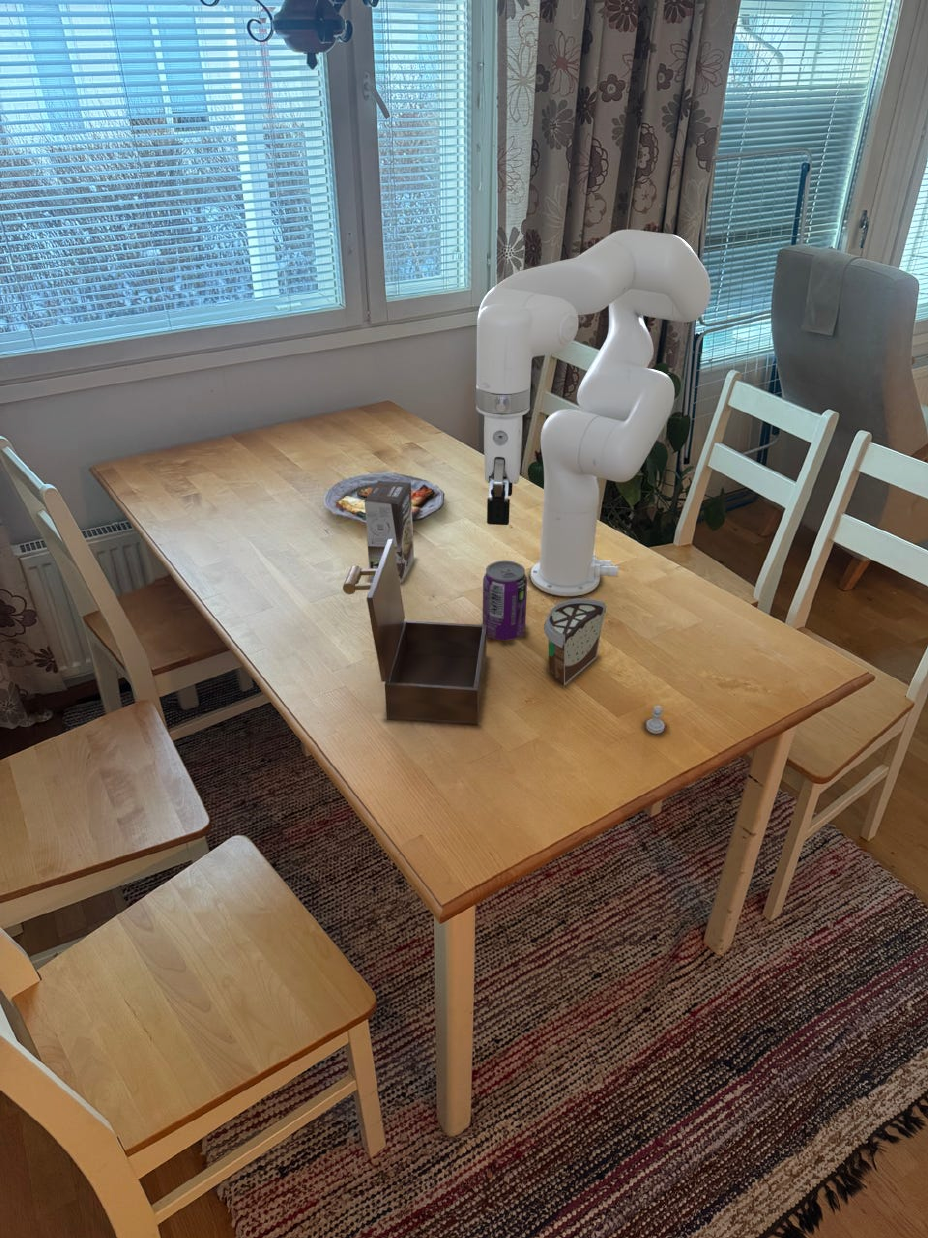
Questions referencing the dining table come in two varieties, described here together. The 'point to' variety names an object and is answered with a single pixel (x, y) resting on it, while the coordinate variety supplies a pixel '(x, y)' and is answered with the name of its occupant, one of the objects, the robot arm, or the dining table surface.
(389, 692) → the chest
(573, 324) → the robot arm
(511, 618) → the beverage can
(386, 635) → the lid
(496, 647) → the dining table surface
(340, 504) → the food plate
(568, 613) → the food container
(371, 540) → the coffee box
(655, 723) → the pawn
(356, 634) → the dining table surface
